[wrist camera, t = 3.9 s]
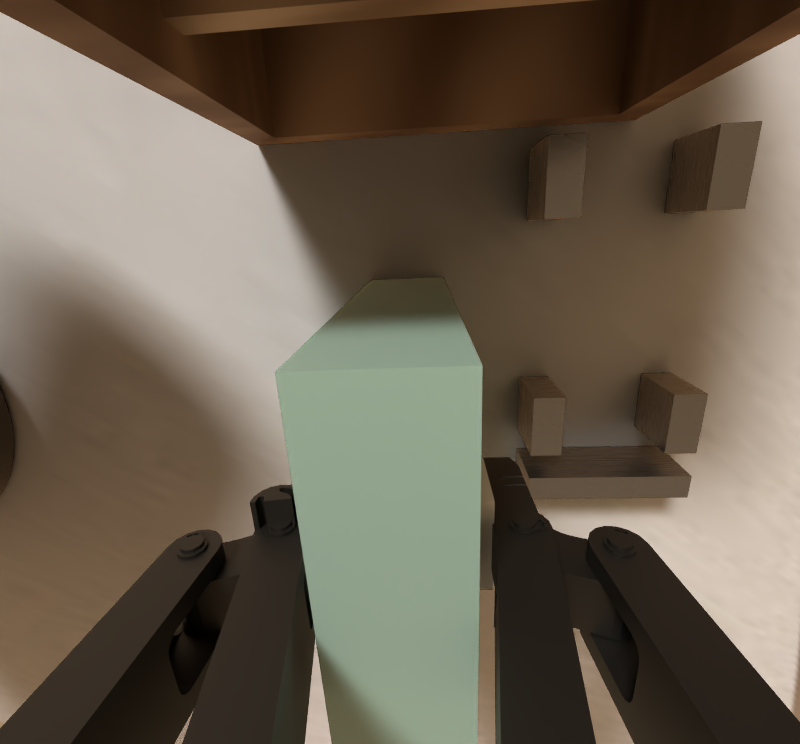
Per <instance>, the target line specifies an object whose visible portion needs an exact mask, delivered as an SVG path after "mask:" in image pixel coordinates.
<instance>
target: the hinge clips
mask: <svg viewBox="0 0 800 744" xmlns="http://www.w3.org/2000/svg"><path fill="white" fill-rule="evenodd" d="M761 125H762V121H755V122H740V123H725V124H719V125H716V126H714V127H711V128H708V129H705V130H702V131H700V132H697V133H694V134H691V135H689V136H686V137H683V138H680V139H677V140H675V144H674V151H673V158H672V165H671V172H670V179H669V186H668V193H667V200H666V207H665V213H683V212H701V211H715V210H730V209H744V208H745V205H746V200H747V195H748V190H749V185H750V180H751V175H752V170H753V165H754V160H755V155H756V150H757V145H758V140H759V135H760V130H761ZM587 140H588V133H573V134H557V135H549V136H547V137H546V138H545V139H543V140H542V141H541V142H539V143H538V144H537V145H535V146H534V147H533V148H531V149H530V161H529V184H528V206H527V221H531V220H550V219H565V218H577V217H581V212H582V200H583V188H584V176H585V164H586V152H587ZM707 396H708V394H707V393H705V392H703V391H702V390H700V389H698V388H696V387H695V386H693V385H691V384H689V383H688V382H686V381H684V380H682V379H681V378H679V377H677V376H675V375H674V374H672V373H642V375H641V382H640V389H639V396H638V403H637V410H636V417H635V424H634V426H635V427H636V428H637V429H638V430H639V431H641V432H642V433H643V434H644V435H645V436H646V437H647V438H648V439H649V440H650V441H651V442H652V443H654V444H655V445H656V446H622V447H566V448H562V440H563V428H564V416H565V404H566V397H565V396H564V395H563V394H562V392H561V391H560V390H559V389H558V388H557V387H556V385H555V384H554V383H553V382H552V381H551V380H550V378H549V377H548V376H537V377H520V385H519V407H518V430H519V432H520V434H521V436H522V438H523V441H524V443H525V445H526V447H527V448H517V452H516V464H517V465H519V467H520V470H521V472H522V475H523V477H524V479H525V482H526V486H527V487H528V489H529V492H530V494H531V497H532V499H572V498H671V497H687V496H688V491H689V486H690V481H691V475H690V474H689V473H687V472H686V471H685V470H684V469H683V468H682V467H681V466H680V465H679V464H678V463H677V462H675V461H674V460H673V459H672V458H671V457H670V456H669V455H668V454H671V453H696V451H697V446H698V441H699V436H700V431H701V426H702V421H703V416H704V411H705V406H706V401H707Z"/></svg>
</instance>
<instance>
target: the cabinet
mask: <svg viewBox="0 0 800 744" xmlns="http://www.w3.org/2000/svg"><path fill="white" fill-rule="evenodd" d="M0 12H2V13H4V14H5V15H7V16H9V17H11V18H13V19H15V20H17V21H19V22H21V23H23V24H25V25H27V26H29V27H31V28H32V29H34V30H36V31H38V32H40V33H42V34H44V35H46V36H48V37H50V38H52V39H54V40H56V41H58V42H60V43H61V44H63V45H65V46H67V47H69V48H71V49H73V50H75V51H77V52H79V53H81V54H83V55H85V56H87V57H88V58H90V59H92V60H94V61H96V62H98V63H100V64H102V65H104V66H106V67H108V68H110V69H112V70H114V71H115V72H117V73H119V74H121V75H123V76H125V77H127V78H129V79H131V80H133V81H135V82H137V83H139V84H141V85H143V86H144V87H146V88H148V89H150V90H152V91H154V92H156V93H158V94H160V95H162V96H164V97H166V98H168V99H170V100H171V101H173V102H175V103H177V104H179V105H181V106H183V107H185V108H187V109H189V110H191V111H193V112H195V113H197V114H199V115H200V116H202V117H204V118H206V119H208V120H210V121H212V122H214V123H216V124H218V125H220V126H222V127H224V128H226V129H227V130H229V131H231V132H233V133H235V134H237V135H239V136H241V137H243V138H245V139H247V140H249V141H251V142H253V143H254V144H256V145H268V144H282V143H297V142H312V141H327V140H342V139H357V138H372V137H387V136H402V135H416V134H431V133H446V132H461V131H476V130H491V129H506V128H521V127H536V126H550V125H565V124H580V123H595V122H610V121H625V120H636V119H638V118H640V117H641V116H643V115H645V114H647V113H649V112H651V111H653V110H655V109H657V108H659V107H661V106H663V105H664V104H666V103H668V102H670V101H672V100H674V99H676V98H678V97H680V96H682V95H684V94H685V93H687V92H689V91H691V90H693V89H695V88H697V87H699V86H701V85H703V84H705V83H707V82H708V81H710V80H712V79H714V78H716V77H718V76H720V75H722V74H724V73H726V72H728V71H729V70H731V69H733V68H735V67H737V66H739V65H741V64H743V63H745V62H747V61H749V60H751V59H752V58H754V57H756V56H758V55H760V54H762V53H764V52H766V51H768V50H770V49H772V48H773V47H775V46H777V45H779V44H781V43H783V42H785V41H787V40H789V39H791V38H793V37H795V36H796V35H798V34H800V0H0Z"/></svg>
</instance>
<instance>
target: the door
mask: <svg viewBox="0 0 800 744" xmlns="http://www.w3.org/2000/svg"><path fill="white" fill-rule="evenodd" d="M482 373H483V365H482V363H481V361H480V359H479V356H478V354H477V352H476V350H475V347H474V345H473V343H472V341H471V338H470V336H469V334H468V332H467V329H466V327H465V325H464V323H463V320H462V318H461V316H460V314H459V311H458V309H457V307H456V305H455V302H454V300H453V298H452V296H451V293H450V291H449V289H448V287H447V284H446V282H445V280H444V278H443V277H430V278H408V279H386V280H371V281H370V282H369V283H368V284H367V285H366V286H364V287H363V288H362V289H361V290H360V291H359V292H358V293H357V294H356V295H355V296H354V297H353V298H352V299H351V300H350V301H349V302H348V303H347V304H346V305H345V306H344V307H342V308H341V309H340V310H339V311H338V312H337V313H336V314H335V315H334V316H333V317H332V318H331V319H330V320H329V321H328V322H327V323H326V324H325V325H324V326H323V327H322V328H320V329H319V330H318V331H317V332H316V333H315V334H314V335H313V336H312V337H311V338H310V339H309V340H308V341H307V342H306V343H305V344H304V345H303V346H302V347H301V348H300V349H298V350H297V351H296V352H295V353H294V354H293V355H292V356H291V357H290V358H289V359H288V360H287V361H286V362H285V363H284V364H283V365H282V366H281V367H280V368H279V369H278V370H276V371H275V376H276V383H277V389H278V396H279V402H280V409H281V415H282V422H283V428H284V435H285V441H286V448H287V454H288V461H289V468H290V474H291V481H292V487H293V494H294V500H295V507H296V513H297V520H298V526H299V533H300V539H301V546H302V552H303V559H304V565H305V572H306V578H307V585H308V591H309V598H310V605H311V611H312V618H313V624H314V631H315V637H316V644H317V650H318V657H319V663H320V670H321V676H322V683H323V689H324V696H325V702H326V709H327V715H328V722H329V728H330V735H331V741H332V744H477V737H478V664H479V591H480V519H481V446H482Z"/></svg>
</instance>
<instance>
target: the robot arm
mask: <svg viewBox="0 0 800 744" xmlns="http://www.w3.org/2000/svg"><path fill="white" fill-rule="evenodd" d="M13 453H14V440H13V430H12V425H11V419H10V416H9V412H8V408H7V405H6V402H5V399H4V397H3V394H2V392H1V390H0V494H1V492H2V491H3V489H4V487H5V485H6V483H7V480H8V478H9V475H10V472H11V468H12V462H13ZM250 506H251V511H252V516H253V522H254V527H255V532H254V535H252V536H249V537H246V538H243V539H239V540H234V541H230V542H225V543H223V542H222V538H221V535H220V534H219V533H217V532H216V531H212V530H198V531H195V532H191V533H188V534H186V535H184V536H182V537H180V538H179V539H177V540H176V541H174V542H173V543H172V544H171V545H170V546H168V547H167V549H166V550H165V551H164V552H163V553H162V554H161V555H160V556H159V557H158V558H157V559H156V560H155V562H154V563H153V564H152V565H151V566H150V567H149V568H148V569H147V570H146V571H145V572H144V573H143V575H142V576H141V577H140V578H139V579H138V580H137V581H136V582H135V583H134V584H133V585H132V586H131V588H130V589H129V590H128V591H127V592H126V593H125V594H124V595H123V596H122V597H121V598H120V599H119V601H118V602H117V603H116V604H115V605H114V606H113V607H112V608H111V609H110V610H109V611H108V612H107V614H106V615H105V616H104V617H103V618H102V619H101V620H100V621H99V622H98V623H97V624H96V625H95V627H94V628H93V629H92V630H91V631H90V632H89V633H88V634H87V635H86V636H85V637H84V638H83V640H82V641H81V642H80V643H79V644H78V645H77V646H76V647H75V648H74V649H73V650H72V651H71V652H70V654H69V655H68V656H67V657H66V658H65V659H64V660H63V661H62V662H61V663H60V664H59V665H58V667H57V668H56V669H55V670H54V671H53V672H52V673H51V674H50V675H49V676H48V677H47V678H46V680H45V681H44V682H43V683H42V684H41V685H40V686H39V687H38V688H37V689H36V690H35V691H34V693H33V694H32V695H31V696H30V697H29V698H28V699H27V700H26V701H25V702H24V703H23V704H22V706H21V707H20V708H19V709H18V710H17V711H16V712H15V713H14V714H13V715H12V716H11V717H10V719H9V720H8V721H7V722H6V723H5V724H4V725H3V726H2V727H1V728H0V744H174V743H175V742H176V740H177V738H178V736H179V734H180V733H181V731H182V729H183V727H184V725H185V724H186V722H187V720H188V718H189V717H190V715H191V713H192V711H193V709H194V711H193V714H192V717H191V720H190V723H189V726H188V729H187V732H186V735H185V737H184V740H183V743H182V744H305V734H306V724H307V714H308V704H309V694H310V684H311V675H312V665H313V655H314V645H315V631H314V624H313V618H312V611H311V605H310V598H309V591H308V585H307V578H306V572H305V565H304V559H303V552H302V546H301V539H300V533H299V526H298V520H297V513H296V507H295V500H294V494H293V487H292V484H291V485H279V486H274V487H270V488H268V489H265V490H263V491H261V492H260V493H258V494H257V495H256V496H254V498H253V499H252V500H251V502H250ZM493 580H494V585H495V606H494V627H495V728H496V744H596V741H595V736H594V731H593V726H592V722H591V717H590V712H589V707H588V702H587V697H586V692H585V687H584V682H583V677H582V672H581V667H580V662H579V657H578V652H577V647H576V642H575V637H574V632H573V628H577V629H580V633H581V635H582V637H583V640H584V642H585V644H586V646H587V648H588V650H589V652H590V654H591V656H592V658H593V660H594V662H595V664H596V666H597V668H598V670H599V672H600V674H601V676H602V678H603V680H604V683H605V685H606V687H607V689H608V691H609V693H610V695H611V697H612V699H613V701H614V703H615V705H616V707H617V709H618V711H619V713H620V715H621V717H622V719H623V721H624V723H625V725H626V728H627V730H628V732H629V734H630V736H631V738H632V740H633V742H634V744H800V722H799V721H798V720H797V718H796V717H795V716H794V715H793V714H792V712H791V711H790V710H789V709H788V708H787V706H786V705H785V704H784V703H783V702H782V701H781V699H780V698H779V697H778V696H777V695H776V693H775V692H774V691H773V690H772V689H771V688H770V686H769V685H768V684H767V683H766V682H765V680H764V679H763V678H762V677H761V676H760V675H759V673H758V672H757V671H756V670H755V669H754V668H753V666H752V665H751V664H750V663H749V662H748V660H747V659H746V658H745V657H744V656H743V655H742V653H741V652H740V651H739V650H738V649H737V647H736V646H735V645H734V644H733V643H732V642H731V640H730V639H729V638H728V637H727V636H726V635H725V633H724V632H723V631H722V630H721V629H720V627H719V626H718V625H717V624H716V623H715V622H714V620H713V619H712V618H711V617H710V616H709V614H708V613H707V612H706V611H705V610H704V609H703V607H702V606H701V605H700V604H699V603H698V602H697V600H696V599H695V598H694V597H693V596H692V594H691V593H690V592H689V591H688V590H687V589H686V587H685V586H684V585H683V584H682V583H681V581H680V580H679V579H678V578H677V577H676V576H675V574H674V573H673V572H672V571H671V570H670V568H669V567H668V566H667V565H666V564H665V563H664V561H663V560H662V559H661V558H660V557H659V556H658V554H657V553H656V552H655V551H654V550H653V548H652V547H651V546H650V545H649V544H648V543H647V542H646V541H645V540H644V539H643V538H641V537H640V536H639V535H637V534H635V533H633V532H631V531H629V530H626V529H623V528H619V527H613V526H603V527H598V528H595V529H594V530H593V531H591V532H590V534H589V537H588V539H583V538H578V537H574V536H569V535H566V534H563V533H560V532H558V531H556V530H554V529H553V528H552V526H551V524H550V522H549V521H548V520H547V519H546V518H545V517H544V516H543V515H541V514H539V513H538V511H537V509H536V506H535V504H534V502H533V499H532V497H531V494H530V492H529V489H528V487H527V486H526V482H525V479H524V477H523V475H522V472H521V470H520V467H519V465H517V464H516V463H515V462H514V461H513V460H512V459H510V458H509V457H499V458H483V455H482V452H481V519H480V590H492V585H493Z"/></svg>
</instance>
